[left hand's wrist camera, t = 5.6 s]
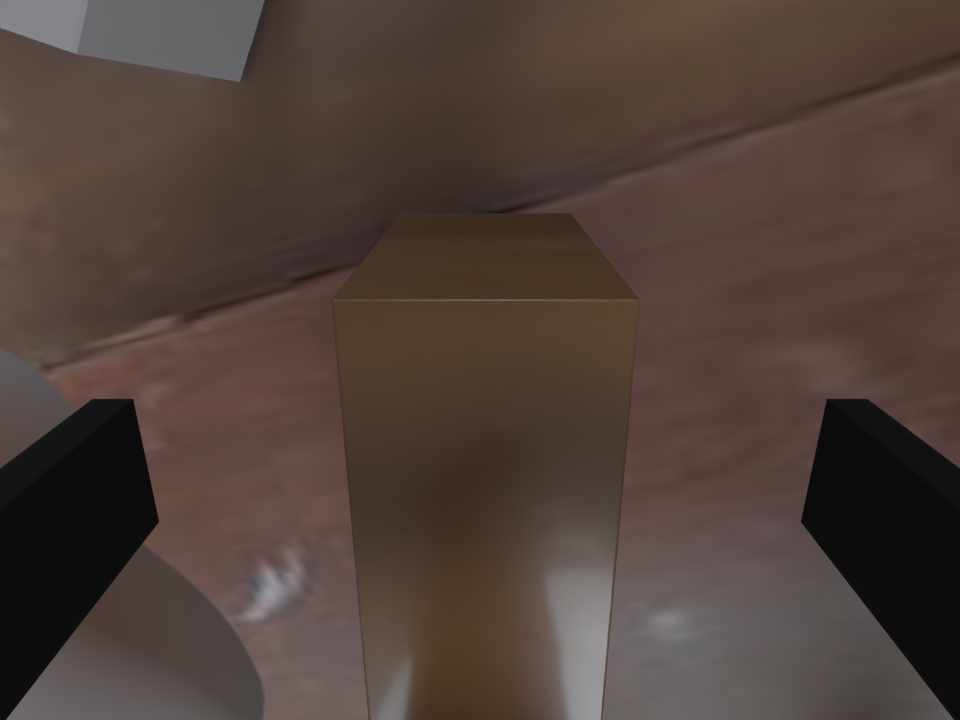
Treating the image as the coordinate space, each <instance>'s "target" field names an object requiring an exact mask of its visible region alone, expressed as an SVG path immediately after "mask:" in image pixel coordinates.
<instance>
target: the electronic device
mask: <svg viewBox="0 0 960 720" xmlns="http://www.w3.org/2000/svg"><path fill="white" fill-rule="evenodd" d="M264 1H265V0H0V28H2V29H5V30H8V31H11V32H14V33H17V34H20V35H23V36H26V37H28V38H31V39H34V40H37V41H40V42H43V43H46V44H49V45H52V46H55V47H57V48H60V49H63V50H66V51H69V52H72V53H75V54H79V55H84V56H90V57H96V58H102V59H108V60H114V61H119V62H125V63H131V64H137V65H143V66H149V67H154V68H160V69H166V70H172V71H178V72H184V73H189V74H195V75H201V76H207V77H213V78H219V79H224V80H230V81H236V82H240V81H241V78H242V75H243V71H244V68H245V65H246V61H247V58H248V55H249V51H250V48H251V45H252V41H253V38H254V35H255V31H256V28H257V25H258V21H259V18H260V15H261V11H262V8H263V5H264Z"/></svg>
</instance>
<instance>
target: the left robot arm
mask: <svg viewBox="0 0 960 720" xmlns="http://www.w3.org/2000/svg"><path fill="white" fill-rule="evenodd" d="M158 523H159V519H158V514H157V510H156V505H155V500H154V496H153V491H152V486H151V481H150V477H149V472H148V467H147V463H146V458H145V453H144V448H143V444H142V439H141V434H140V430H139V425H138V420H137V415H136V411H135V406H134V401H133V399H92V400H91V401H89V402H88V403H87V404H85V405H84V406H83V407H81V408H80V409H79V410H77V411H76V412H75V413H73V414H72V415H71V416H69V417H68V418H67V419H65V420H64V421H63V422H61V423H60V424H59V425H57V426H56V427H55V428H53V429H52V430H51V431H49V432H48V433H47V434H46V435H44V436H43V437H42V438H40V439H39V440H38V441H36V442H35V443H34V444H32V445H31V446H30V447H28V448H27V449H26V450H24V451H23V452H22V453H20V454H19V455H18V456H16V457H15V458H14V459H12V460H11V461H10V462H8V463H7V464H6V465H4V466H3V467H2V468H0V720H6V719H7V718H8V716H9V715H10V714H11V712H12V711H13V710H14V709H15V707H16V706H17V705H18V703H19V702H20V701H21V700H22V698H23V697H24V696H25V694H26V693H27V692H28V690H29V689H30V688H31V687H32V685H33V684H34V683H35V681H36V680H37V679H38V678H39V676H40V675H41V674H42V672H43V671H44V670H45V669H46V667H47V666H48V665H49V663H50V662H51V661H52V660H53V658H54V657H55V656H56V654H57V653H58V652H59V650H60V649H61V648H62V647H63V645H64V644H65V643H66V641H67V640H68V639H69V638H70V636H71V635H72V634H73V632H74V631H75V630H76V628H77V627H78V626H79V625H80V623H81V622H82V621H83V619H84V618H85V617H86V616H87V614H88V613H89V612H90V610H91V609H92V608H93V607H94V605H95V604H96V603H97V601H98V600H99V599H100V597H101V596H102V595H103V594H104V592H105V591H106V590H107V588H108V587H109V586H110V584H111V583H112V582H113V581H114V579H115V578H116V577H117V576H118V574H119V573H120V572H121V570H122V569H123V568H124V566H125V565H126V564H127V563H128V561H129V560H130V559H131V557H132V556H133V555H134V554H135V552H136V551H137V550H138V548H139V547H140V546H141V545H142V543H143V542H144V541H145V539H146V538H147V537H148V535H149V534H150V533H151V532H152V530H153V529H154V528H155V526H156V525H157V524H158ZM801 523H802V524H803V525H804V526H805V528H806V529H807V530H808V532H809V533H810V534H811V535H812V537H813V538H814V539H815V541H816V542H817V543H818V545H819V546H820V547H821V548H822V550H823V551H824V552H825V554H826V555H827V556H828V557H829V559H830V560H831V561H832V563H833V564H834V565H835V566H836V568H837V569H838V570H839V572H840V573H841V574H842V576H843V577H844V578H845V579H846V581H847V582H848V583H849V585H850V586H851V587H852V588H853V590H854V591H855V592H856V594H857V595H858V596H859V597H860V599H861V600H862V601H863V603H864V604H865V605H866V607H867V608H868V609H869V610H870V612H871V613H872V614H873V616H874V617H875V618H876V619H877V621H878V622H879V623H880V625H881V626H882V627H883V628H884V630H885V631H886V632H887V634H888V635H889V636H890V638H891V639H892V640H893V641H894V643H895V644H896V645H897V647H898V648H899V649H900V650H901V652H902V653H903V654H904V656H905V657H906V658H907V660H908V661H909V662H910V663H911V665H912V666H913V667H914V669H915V670H916V671H917V672H918V674H919V675H920V676H921V678H922V679H923V680H924V681H925V683H926V684H927V685H928V687H929V688H930V689H931V691H932V692H933V693H934V694H935V696H936V697H937V698H938V700H939V701H940V702H941V703H942V705H943V706H944V707H945V709H946V710H947V711H948V712H949V714H950V715H951V716H952V718H953V719H954V720H960V468H958V467H957V466H956V465H954V464H953V463H952V462H950V461H949V460H948V459H946V458H945V457H944V456H942V455H941V454H940V453H938V452H937V451H936V450H934V449H933V448H932V447H930V446H929V445H928V444H926V443H925V442H924V441H922V440H921V439H920V438H918V437H917V436H916V435H914V434H913V433H912V432H911V431H909V430H908V429H907V428H905V427H904V426H903V425H901V424H900V423H899V422H897V421H896V420H895V419H893V418H892V417H891V416H889V415H888V414H887V413H885V412H884V411H883V410H881V409H880V408H879V407H877V406H876V405H875V404H873V403H872V402H871V401H869V400H868V399H827V401H826V406H825V411H824V415H823V420H822V425H821V430H820V434H819V439H818V444H817V448H816V453H815V458H814V463H813V467H812V472H811V477H810V481H809V486H808V491H807V496H806V500H805V505H804V510H803V514H802V519H801Z"/></svg>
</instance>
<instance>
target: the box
mask: <svg viewBox="0 0 960 720" xmlns="http://www.w3.org/2000/svg"><path fill="white" fill-rule="evenodd" d="M639 302H640V301H639V299H638V297H637V296H636V295H635V294H634V292H633V291H632V290H631V289H630V287H629V286H628V285H627V284H626V282H625V281H624V280H623V279H622V277H621V276H620V275H619V274H618V272H617V271H616V270H615V269H614V267H613V266H612V265H611V264H610V262H609V261H608V260H607V259H606V257H605V256H604V255H603V254H602V252H601V251H600V250H599V248H598V247H597V246H596V245H595V243H594V242H593V241H592V240H591V238H590V237H589V236H588V235H587V233H586V232H585V231H584V230H583V228H582V227H581V226H580V225H579V223H578V222H577V221H576V220H575V218H574V217H573V216H572V215H571V214H400V215H399V216H398V218H397V219H396V220H395V221H394V223H393V224H392V225H391V226H390V228H389V229H388V230H387V231H386V233H385V234H384V235H383V236H382V238H381V239H380V240H379V241H378V243H377V244H376V245H375V246H374V248H373V249H372V250H371V251H370V253H369V254H368V255H367V257H366V258H365V259H364V260H363V262H362V263H361V264H360V265H359V267H358V268H357V269H356V270H355V272H354V273H353V274H352V275H351V277H350V278H349V279H348V280H347V282H346V283H345V284H344V285H343V287H342V288H341V289H340V290H339V292H338V293H337V294H336V295H335V297H334V298H333V300H332V308H333V320H334V331H335V342H336V354H337V365H338V376H339V388H340V399H341V410H342V422H343V433H344V445H345V456H346V467H347V479H348V490H349V501H350V513H351V524H352V535H353V547H354V558H355V569H356V581H357V592H358V603H359V615H360V626H361V637H362V649H363V660H364V671H365V683H366V694H367V705H368V717H369V720H602V716H603V705H604V694H605V682H606V671H607V660H608V649H609V638H610V626H611V615H612V604H613V593H614V582H615V570H616V559H617V548H618V537H619V526H620V514H621V503H622V492H623V481H624V470H625V459H626V447H627V436H628V425H629V414H630V403H631V391H632V380H633V369H634V358H635V347H636V335H637V324H638V313H639Z"/></svg>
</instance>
